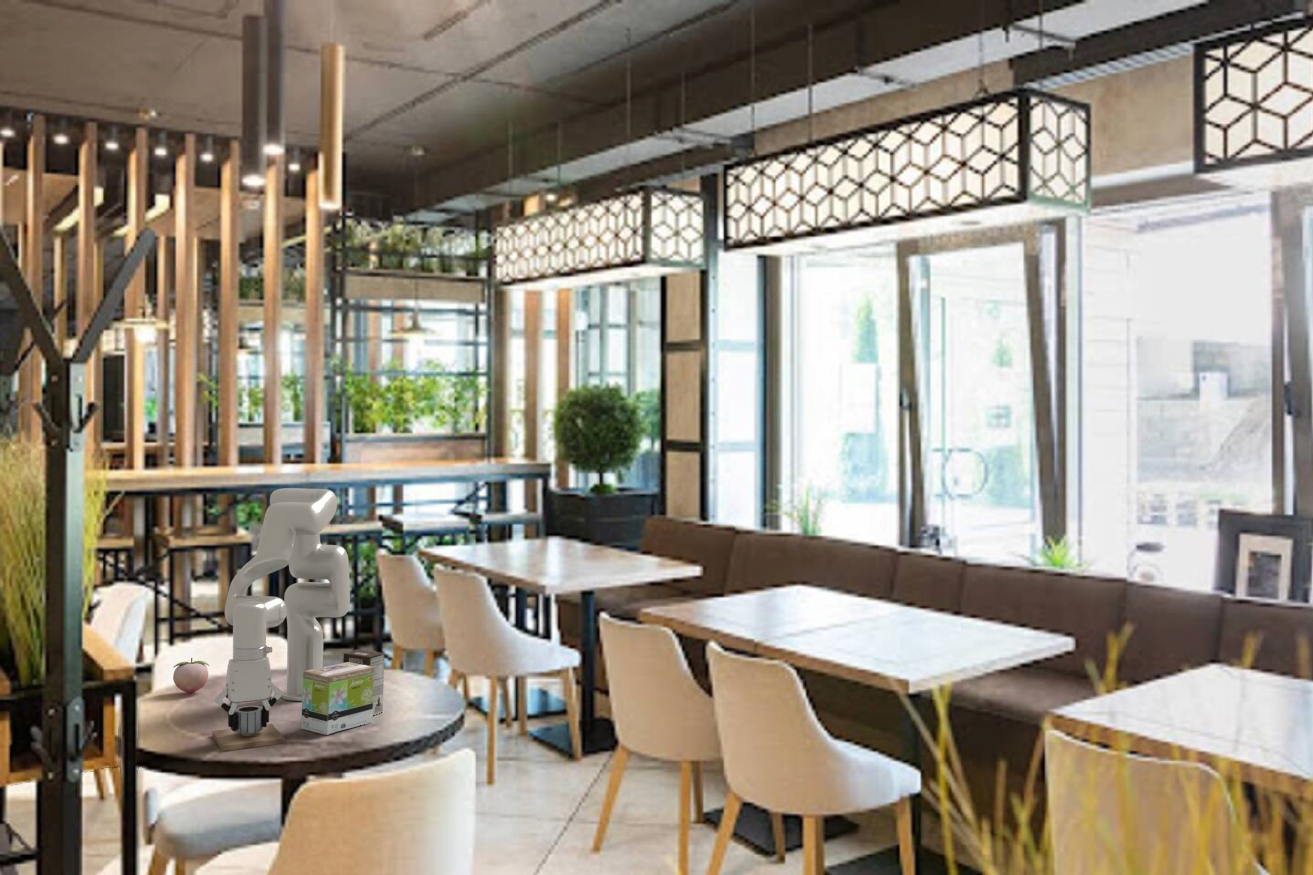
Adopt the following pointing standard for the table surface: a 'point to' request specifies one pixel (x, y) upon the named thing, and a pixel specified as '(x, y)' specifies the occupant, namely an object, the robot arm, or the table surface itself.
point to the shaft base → (247, 738)
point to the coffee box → (378, 663)
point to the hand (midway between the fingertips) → (248, 727)
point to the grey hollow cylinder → (249, 719)
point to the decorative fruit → (190, 675)
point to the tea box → (337, 697)
